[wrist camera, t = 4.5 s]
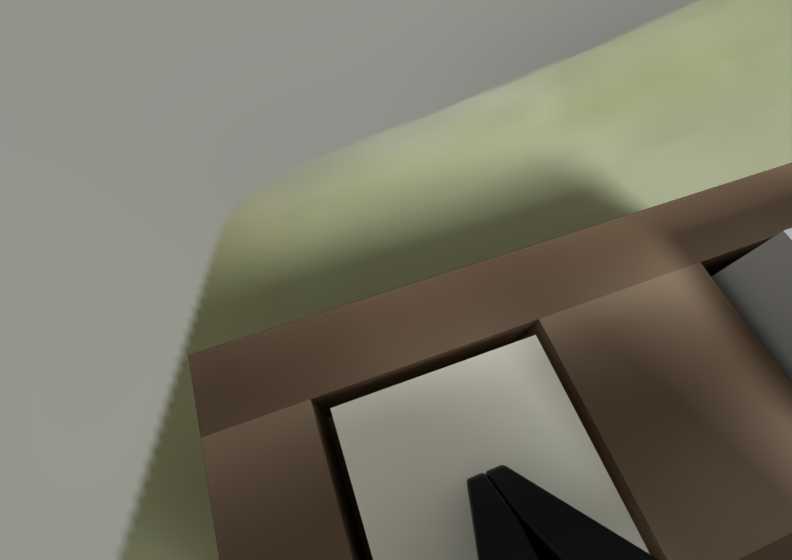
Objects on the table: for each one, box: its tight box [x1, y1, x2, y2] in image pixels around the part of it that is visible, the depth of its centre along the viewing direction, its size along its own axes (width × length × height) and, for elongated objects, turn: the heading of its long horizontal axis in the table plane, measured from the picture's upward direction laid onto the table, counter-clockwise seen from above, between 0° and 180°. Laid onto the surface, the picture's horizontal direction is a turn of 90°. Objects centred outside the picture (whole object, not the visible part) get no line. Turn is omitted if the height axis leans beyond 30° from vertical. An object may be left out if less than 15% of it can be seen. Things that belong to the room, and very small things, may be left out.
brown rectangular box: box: [188, 163, 792, 560], centre depth 14 cm, size 10×22×8 cm, turn 110°
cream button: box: [330, 335, 650, 560], centre depth 10 cm, size 5×5×3 cm
